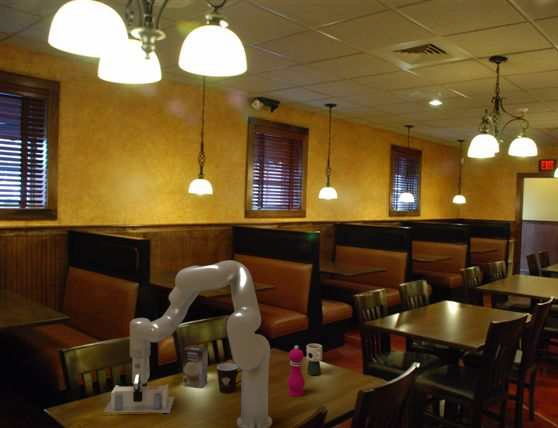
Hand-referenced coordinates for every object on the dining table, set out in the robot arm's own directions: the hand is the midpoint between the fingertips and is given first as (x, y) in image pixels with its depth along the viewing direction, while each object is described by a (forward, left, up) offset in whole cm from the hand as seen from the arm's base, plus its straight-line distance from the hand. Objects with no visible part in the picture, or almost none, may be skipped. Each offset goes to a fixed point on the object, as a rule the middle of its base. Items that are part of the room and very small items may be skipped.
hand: (140, 396), depth 189 cm
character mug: (+32, -72, -5) cm, 79 cm away
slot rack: (0, 0, -4) cm, 4 cm away
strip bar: (0, 0, -3) cm, 3 cm away
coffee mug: (+14, -34, -5) cm, 37 cm away
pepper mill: (+10, -61, -5) cm, 62 cm away
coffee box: (+22, -19, -5) cm, 29 cm away
